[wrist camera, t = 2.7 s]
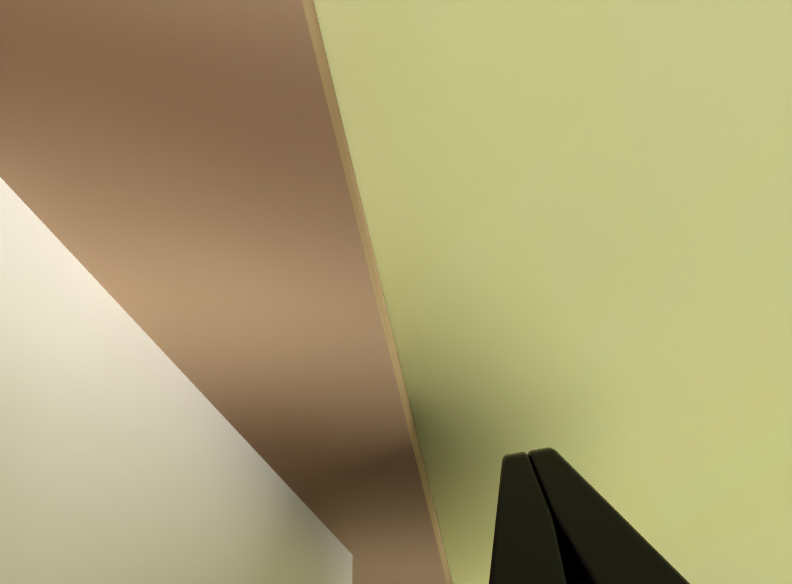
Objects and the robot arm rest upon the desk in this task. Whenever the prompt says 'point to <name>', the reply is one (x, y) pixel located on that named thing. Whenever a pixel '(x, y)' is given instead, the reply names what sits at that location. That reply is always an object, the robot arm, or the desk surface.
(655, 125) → the desk surface
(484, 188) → the desk surface
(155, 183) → the display board
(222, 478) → the carton
